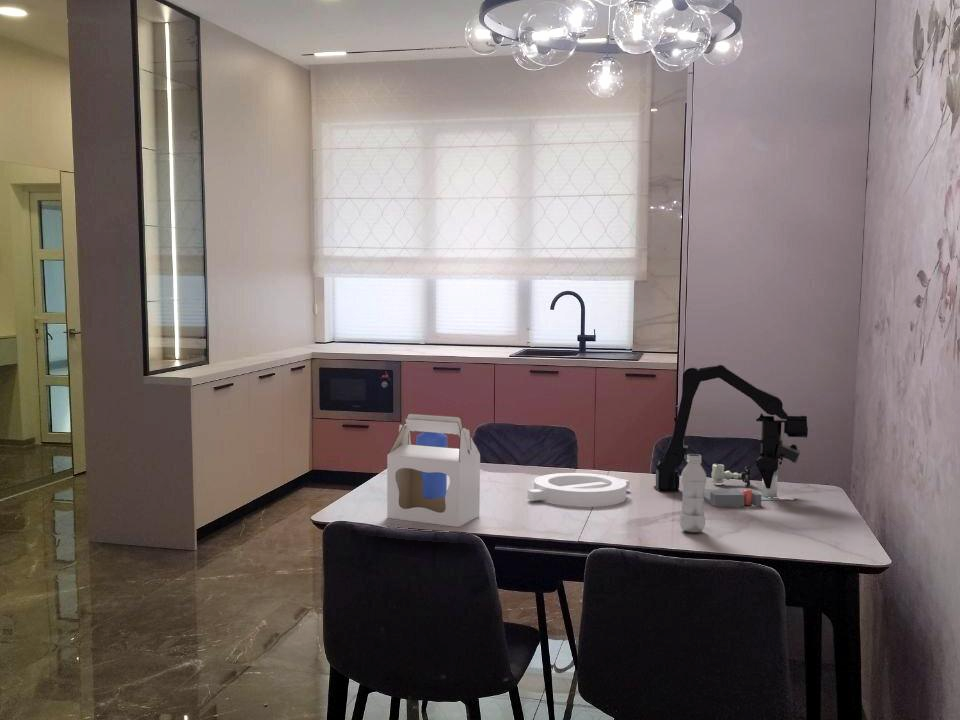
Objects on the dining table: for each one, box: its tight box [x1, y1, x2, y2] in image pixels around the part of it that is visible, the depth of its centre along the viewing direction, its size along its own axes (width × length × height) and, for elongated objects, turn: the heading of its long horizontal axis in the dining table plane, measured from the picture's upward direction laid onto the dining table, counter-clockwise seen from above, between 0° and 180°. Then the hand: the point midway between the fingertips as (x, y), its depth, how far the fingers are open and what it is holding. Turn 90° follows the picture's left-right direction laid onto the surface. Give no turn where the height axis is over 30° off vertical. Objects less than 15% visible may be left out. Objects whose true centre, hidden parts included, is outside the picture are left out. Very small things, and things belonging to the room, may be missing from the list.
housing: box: [703, 488, 762, 508], centre depth 256 cm, size 14×19×4 cm
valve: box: [711, 463, 752, 486], centre depth 277 cm, size 7×7×12 cm
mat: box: [761, 496, 790, 501], centre depth 260 cm, size 12×10×1 cm
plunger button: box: [742, 489, 753, 506], centre depth 249 cm, size 3×3×4 cm
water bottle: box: [415, 432, 449, 499], centre depth 251 cm, size 9×9×25 cm
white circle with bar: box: [526, 472, 631, 508], centre depth 259 cm, size 28×28×5 cm
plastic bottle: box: [679, 453, 707, 534], centre depth 218 cm, size 6×7×20 cm
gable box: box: [386, 413, 481, 528], centre depth 230 cm, size 22×13×28 cm, turn 65°
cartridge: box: [761, 469, 779, 497], centre depth 260 cm, size 5×5×8 cm
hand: (769, 486), depth 260 cm, fingers open, 6 cm apart
